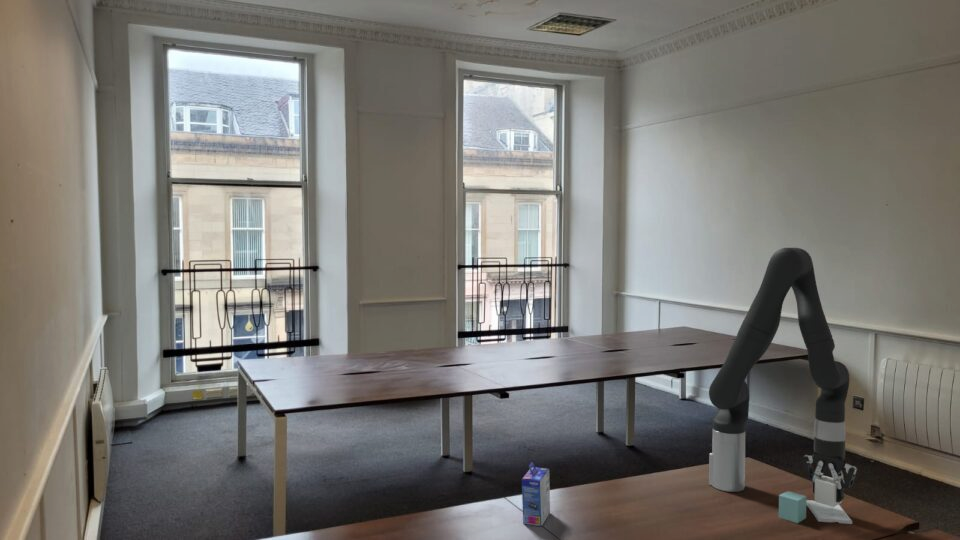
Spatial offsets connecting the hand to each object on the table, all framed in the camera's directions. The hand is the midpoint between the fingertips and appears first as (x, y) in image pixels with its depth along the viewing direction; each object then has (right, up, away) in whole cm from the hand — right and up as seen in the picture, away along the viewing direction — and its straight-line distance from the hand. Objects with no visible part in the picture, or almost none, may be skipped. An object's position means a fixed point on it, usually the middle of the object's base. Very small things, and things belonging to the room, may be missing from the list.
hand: (828, 498), depth 182 cm
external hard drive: (0, -5, 0) cm, 5 cm away
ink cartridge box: (-79, -5, -3) cm, 79 cm away
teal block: (-11, -4, -3) cm, 12 cm away
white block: (0, -1, 0) cm, 1 cm away
